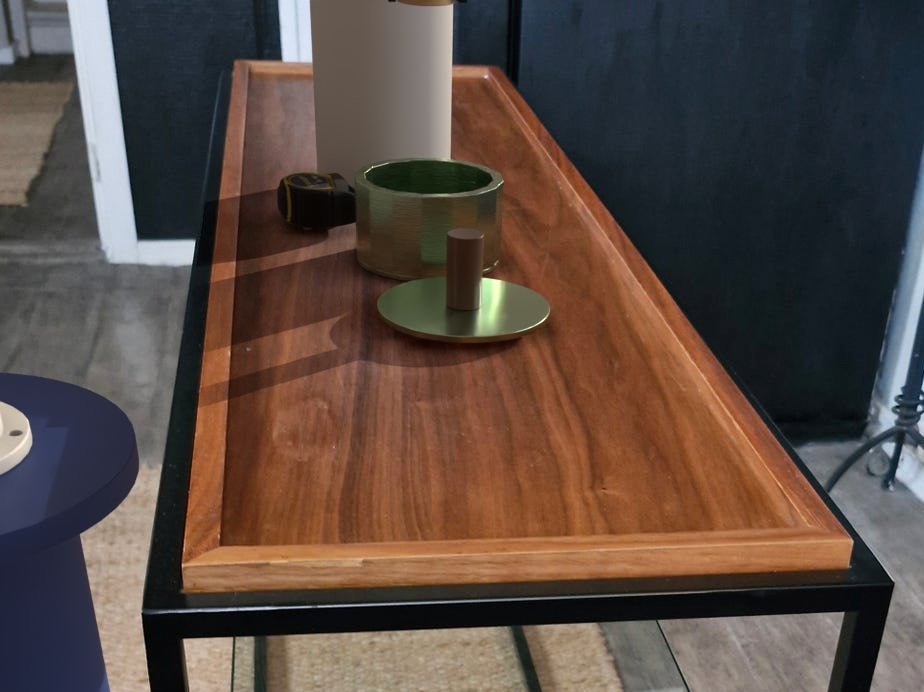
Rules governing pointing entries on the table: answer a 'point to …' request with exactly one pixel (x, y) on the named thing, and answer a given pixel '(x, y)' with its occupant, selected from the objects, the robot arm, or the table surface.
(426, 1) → the spool
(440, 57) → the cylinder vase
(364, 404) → the table surface
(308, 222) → the tape measure
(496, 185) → the sewing tin
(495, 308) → the lid
